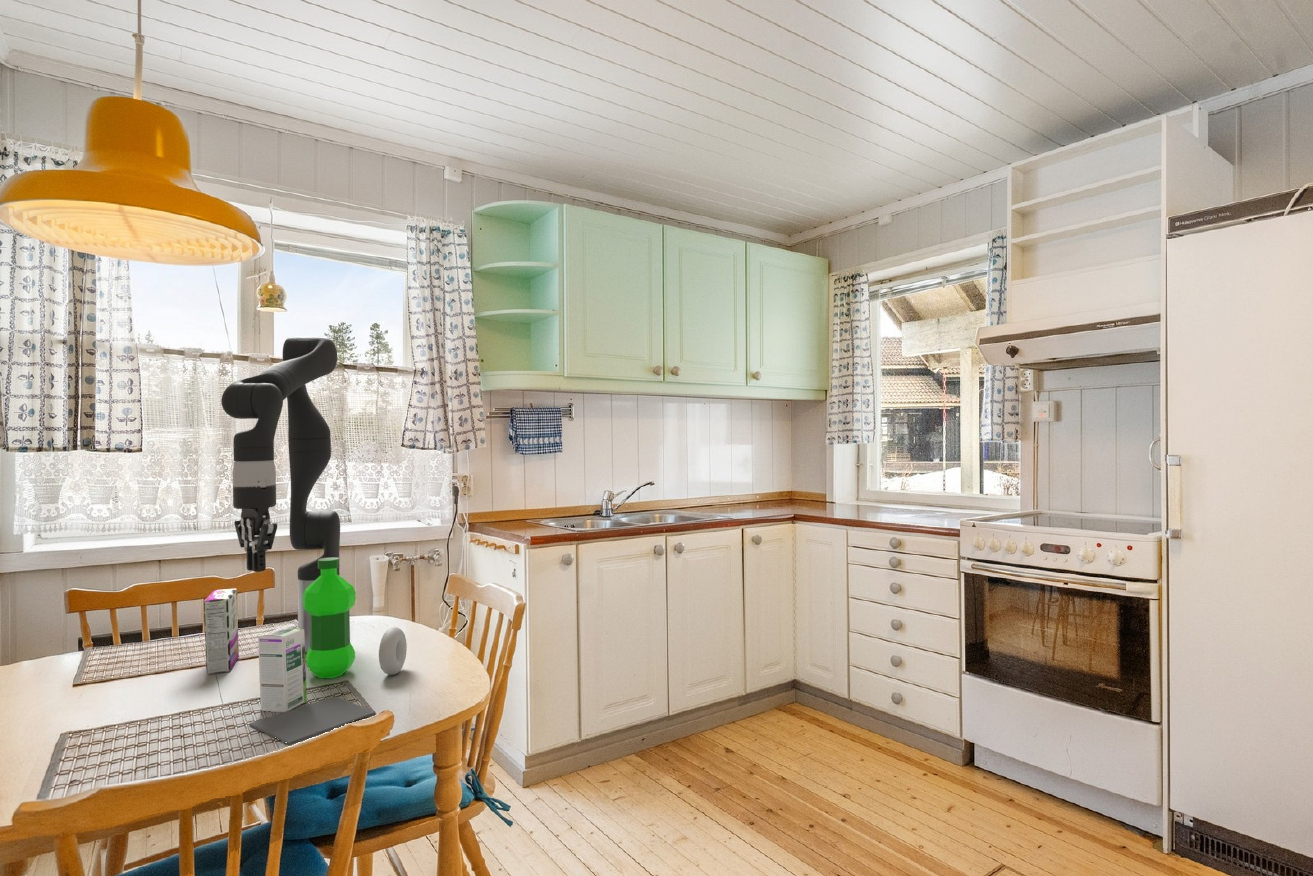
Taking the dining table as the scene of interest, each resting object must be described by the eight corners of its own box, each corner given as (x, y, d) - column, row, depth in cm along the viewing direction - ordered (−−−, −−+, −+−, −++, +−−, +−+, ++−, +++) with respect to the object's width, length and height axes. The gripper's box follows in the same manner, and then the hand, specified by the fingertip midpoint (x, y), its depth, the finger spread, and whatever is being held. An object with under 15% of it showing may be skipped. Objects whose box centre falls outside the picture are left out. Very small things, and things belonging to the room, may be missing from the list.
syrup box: (286, 713, 134) (285, 635, 134) (259, 711, 136) (257, 634, 135) (307, 702, 140) (305, 627, 140) (280, 700, 141) (279, 626, 141)
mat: (249, 725, 129) (249, 723, 129) (334, 698, 142) (334, 696, 142) (288, 745, 121) (288, 742, 121) (375, 714, 133) (375, 711, 133)
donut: (394, 666, 161) (393, 621, 161) (409, 666, 161) (408, 621, 161) (376, 682, 151) (375, 634, 151) (392, 682, 151) (392, 634, 151)
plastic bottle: (364, 666, 161) (362, 554, 161) (342, 683, 150) (340, 563, 150) (320, 666, 161) (317, 555, 161) (295, 683, 151) (292, 563, 150)
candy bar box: (214, 660, 167) (213, 589, 167) (239, 657, 169) (237, 587, 168) (204, 675, 156) (202, 600, 156) (230, 672, 158) (229, 597, 158)
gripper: (218, 483, 144) (220, 570, 145) (251, 486, 136) (252, 577, 136) (257, 481, 150) (259, 564, 151) (290, 483, 142) (292, 571, 142)
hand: (256, 570), depth 143 cm, fingers closed
